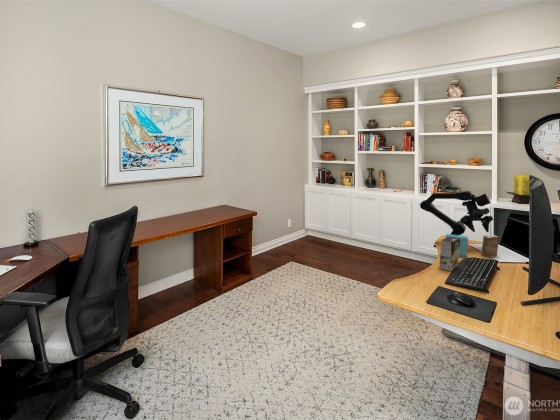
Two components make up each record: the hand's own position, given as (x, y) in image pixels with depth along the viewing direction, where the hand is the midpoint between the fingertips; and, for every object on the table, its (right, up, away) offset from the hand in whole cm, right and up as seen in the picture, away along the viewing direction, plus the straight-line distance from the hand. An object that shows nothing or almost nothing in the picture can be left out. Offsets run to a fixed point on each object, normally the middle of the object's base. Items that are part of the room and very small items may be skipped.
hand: (481, 232), depth 206 cm
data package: (-17, -14, -2) cm, 22 cm away
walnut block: (+2, -14, -4) cm, 15 cm away
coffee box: (-30, -18, -21) cm, 41 cm away
